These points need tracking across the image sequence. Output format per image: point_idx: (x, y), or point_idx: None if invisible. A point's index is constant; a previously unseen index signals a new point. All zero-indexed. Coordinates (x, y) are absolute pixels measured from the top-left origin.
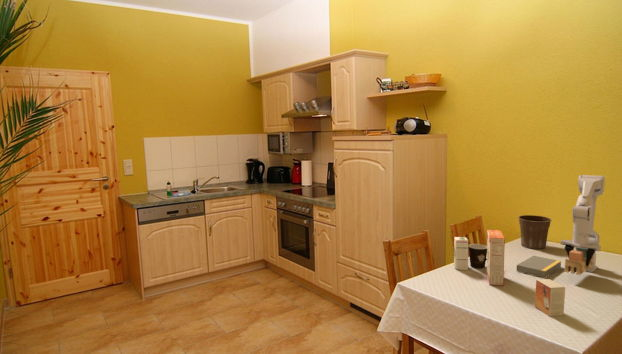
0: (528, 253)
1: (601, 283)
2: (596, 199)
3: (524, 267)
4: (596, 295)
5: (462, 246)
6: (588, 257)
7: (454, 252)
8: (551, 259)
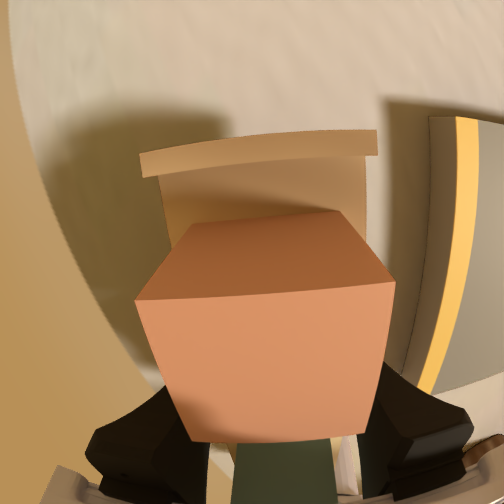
0: (501, 404)
1: None
2: None
3: None
4: (83, 64)
5: None
6: (164, 397)
7: None
8: (453, 386)
